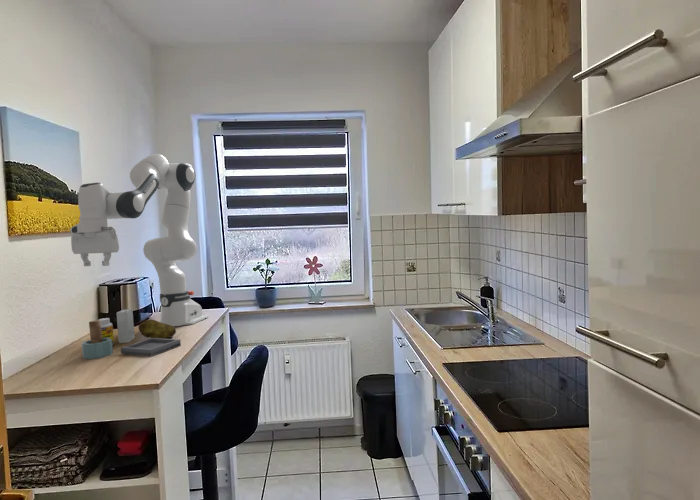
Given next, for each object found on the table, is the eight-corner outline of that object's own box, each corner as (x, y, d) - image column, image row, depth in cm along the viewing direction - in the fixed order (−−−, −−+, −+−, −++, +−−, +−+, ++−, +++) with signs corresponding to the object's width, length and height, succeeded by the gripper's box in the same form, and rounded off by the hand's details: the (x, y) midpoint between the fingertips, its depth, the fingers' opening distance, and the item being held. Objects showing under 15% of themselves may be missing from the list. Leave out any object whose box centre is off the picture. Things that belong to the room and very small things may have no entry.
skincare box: (123, 339, 196) (121, 309, 195) (135, 338, 196) (132, 308, 195) (118, 343, 189) (115, 312, 189) (130, 342, 190) (127, 311, 189)
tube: (100, 350, 180) (98, 337, 180) (118, 352, 176) (117, 338, 176) (77, 357, 172) (75, 343, 171) (95, 359, 168) (94, 345, 167)
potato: (172, 340, 189) (170, 319, 189) (137, 343, 188) (135, 322, 188) (177, 335, 198) (175, 315, 197) (144, 338, 196) (142, 318, 196)
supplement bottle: (99, 348, 184) (96, 321, 183) (97, 345, 188) (94, 319, 188) (115, 345, 187) (112, 318, 186) (113, 342, 191) (110, 316, 191)
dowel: (98, 353, 176) (95, 320, 175) (106, 353, 175) (102, 320, 174) (89, 356, 173) (86, 322, 172) (97, 356, 171) (93, 322, 171)
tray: (152, 343, 186) (151, 337, 186) (180, 345, 180) (180, 339, 180) (121, 353, 173) (120, 347, 173) (151, 356, 168) (150, 349, 168)
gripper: (122, 226, 176) (124, 264, 176) (82, 228, 184) (85, 265, 185) (107, 226, 170) (109, 266, 170) (66, 229, 178) (69, 267, 179)
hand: (96, 266), depth 178 cm, fingers open, 8 cm apart
